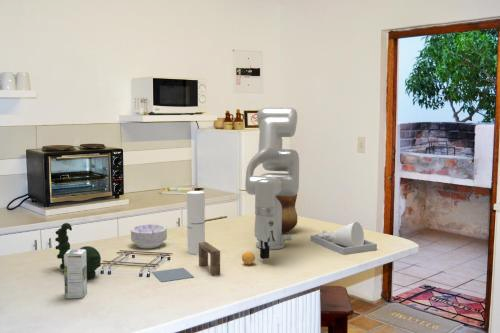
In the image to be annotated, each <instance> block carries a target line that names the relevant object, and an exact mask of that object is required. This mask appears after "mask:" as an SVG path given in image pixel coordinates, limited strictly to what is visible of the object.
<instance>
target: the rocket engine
mask: <svg viewBox="0 0 500 333" xmlns="http://www.w3.org/2000/svg"><path fill="white" fill-rule="evenodd" d="M328 233H329V234H328ZM331 233H332V234H331ZM320 234H321V235H318V237H324V240H326V241H328V242H331V243H334V244H336V245H338V246H340V245H341V246H342V247H343V246H344V247H345V248H346V247H353V246H361V245H363V244H364V240H365V233H364V228H363V226H362V225H361V223H359V221H354V222H352V223H349V224H346V225H344V226H342V227H340V228H338V229H336V230H335V231H333V232H330V231H327V230H326V229H324V230H322V233H320Z"/></svg>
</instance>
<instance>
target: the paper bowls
mask: <svg viewBox="0 0 500 333" xmlns="http://www.w3.org/2000/svg"><path fill="white" fill-rule="evenodd" d="M167 229H168V228H167V226H165V225H162V224H156V223H155V224H153V223H152V224H151V223H150V224H140V225H136V226H133V227H131V229H130V240H131V242H132V243H135V245H136V246H137V247H138V248H141V249H149V250H150V249H155V248H158V247H160V246H162V244H163V242H165V241H166V240H167V237H168V232H167V231H168V230H167Z"/></svg>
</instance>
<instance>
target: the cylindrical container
mask: <svg viewBox="0 0 500 333" xmlns="http://www.w3.org/2000/svg"><path fill="white" fill-rule="evenodd" d="M205 199H206V198H205V191H202V190H190V191H187V192H186V207H187V208H186V217H187V218H186V221H187V223H186V224H187V225H186V226H187V230H186V231H187V233H186V234H187V235H186V236H187V253H188V254H190V255H199V243H201V242H206V231H205V228H206V226H205V224H206V223H205V222H206V216H205V215H206V214H205V211H206V210H205V208H206V207H205Z"/></svg>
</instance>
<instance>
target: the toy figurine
mask: <svg viewBox="0 0 500 333" xmlns="http://www.w3.org/2000/svg"><path fill="white" fill-rule="evenodd" d="M72 227H73V226H72V225H71V223H69V222H64V223H63V224H61V227H60V228H58V229H57V230H56V231H55V234H56V235H57V237H56V238H54V240H55V242H57V243H58V245H55V250H59V252H58V254H57V255H56V258H57V259H61V263H60V265H59V268H60V269H61V270H64V254H65V253H66V252H67V251H68V250H70V249H71V243H70V242H69V236H68V231H67V230H70V231H72V230H73V228H72ZM79 249H84V250H86V263H87V280H89V279H93V278H94V277H96V274H97V272H96V270H98V269H99V268H100V267H101V266H102V265H101V261H102V256H101V254H100V252H99V251H98V250H97V249H96V248H95V247H94V246H86V245H85V246H82V247H79Z"/></svg>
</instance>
